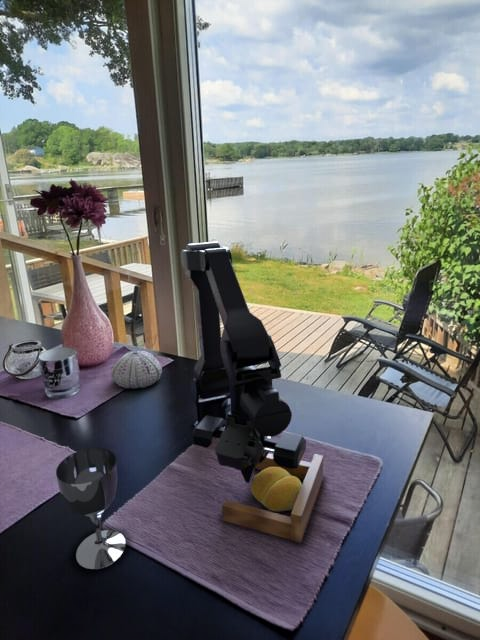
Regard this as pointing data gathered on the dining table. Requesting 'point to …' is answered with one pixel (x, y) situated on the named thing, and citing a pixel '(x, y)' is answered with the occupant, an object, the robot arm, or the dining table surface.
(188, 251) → the robot arm
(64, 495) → the wine glass
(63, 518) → the dining table surface
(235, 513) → the open wooden frame
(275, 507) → the bread roll
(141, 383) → the sea urchin shell
